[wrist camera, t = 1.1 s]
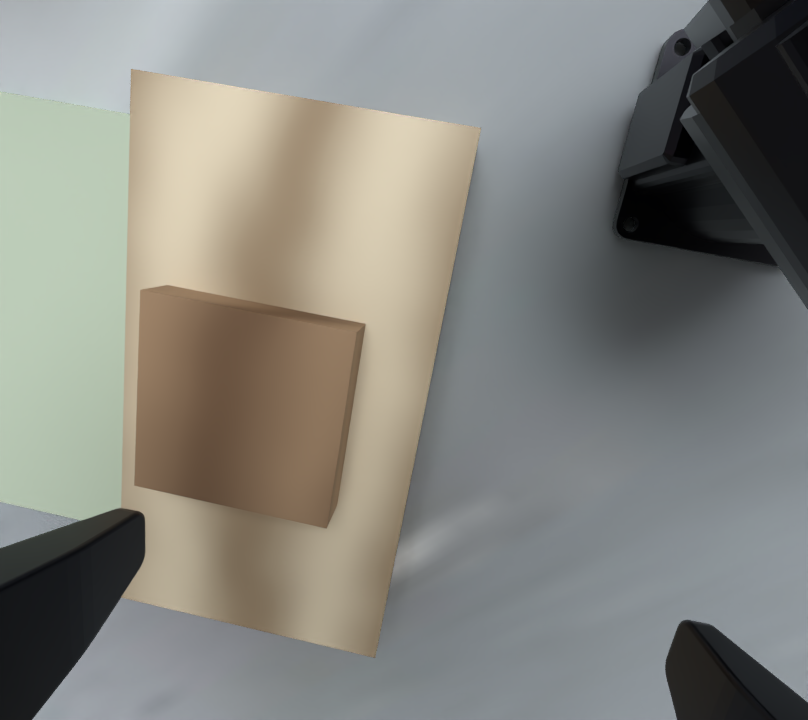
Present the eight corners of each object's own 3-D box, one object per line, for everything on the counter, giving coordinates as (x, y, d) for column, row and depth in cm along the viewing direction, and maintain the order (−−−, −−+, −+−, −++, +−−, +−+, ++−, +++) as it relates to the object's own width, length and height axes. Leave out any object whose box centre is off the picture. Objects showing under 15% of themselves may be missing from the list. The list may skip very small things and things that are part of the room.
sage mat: (169, 121, 18) (164, 120, 18) (151, 531, 23) (148, 535, 23) (-76, 79, 19) (-84, 76, 19) (-44, 487, 24) (-50, 490, 23)
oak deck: (477, 145, 17) (481, 128, 15) (385, 603, 23) (375, 657, 20) (183, 95, 18) (131, 69, 15) (161, 551, 23) (119, 596, 21)
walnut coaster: (365, 323, 16) (356, 332, 15) (337, 505, 18) (326, 528, 17) (167, 285, 17) (140, 289, 15) (159, 466, 19) (134, 485, 17)
